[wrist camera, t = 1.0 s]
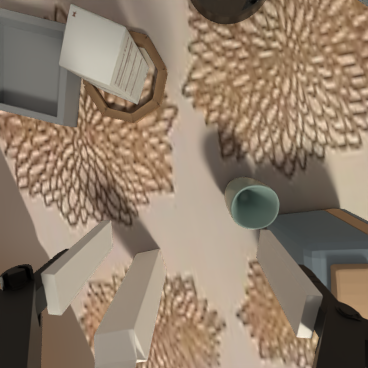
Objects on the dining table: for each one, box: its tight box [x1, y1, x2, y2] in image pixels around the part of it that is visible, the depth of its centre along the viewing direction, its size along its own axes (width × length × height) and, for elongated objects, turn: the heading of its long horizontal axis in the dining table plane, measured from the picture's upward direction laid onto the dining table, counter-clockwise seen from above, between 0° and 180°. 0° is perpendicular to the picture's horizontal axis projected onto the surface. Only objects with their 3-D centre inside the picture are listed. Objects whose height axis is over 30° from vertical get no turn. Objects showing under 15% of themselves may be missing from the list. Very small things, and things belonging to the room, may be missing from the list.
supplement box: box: [59, 4, 149, 105], centre depth 28 cm, size 7×7×13 cm
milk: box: [94, 249, 167, 368], centre depth 33 cm, size 6×6×22 cm
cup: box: [225, 177, 279, 229], centre depth 33 cm, size 8×8×10 cm
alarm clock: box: [267, 208, 368, 319], centre depth 32 cm, size 16×16×16 cm
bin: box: [0, 8, 81, 127], centre depth 33 cm, size 16×16×4 cm
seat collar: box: [83, 30, 168, 123], centre depth 34 cm, size 15×15×2 cm
